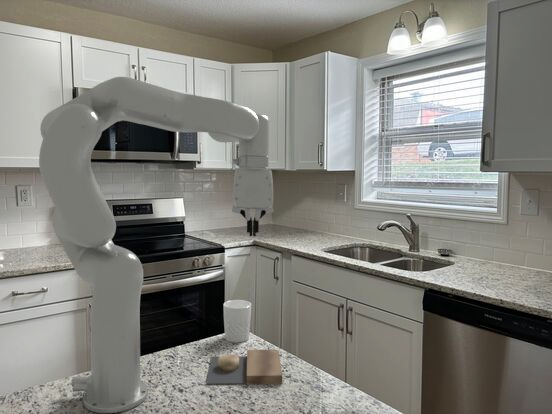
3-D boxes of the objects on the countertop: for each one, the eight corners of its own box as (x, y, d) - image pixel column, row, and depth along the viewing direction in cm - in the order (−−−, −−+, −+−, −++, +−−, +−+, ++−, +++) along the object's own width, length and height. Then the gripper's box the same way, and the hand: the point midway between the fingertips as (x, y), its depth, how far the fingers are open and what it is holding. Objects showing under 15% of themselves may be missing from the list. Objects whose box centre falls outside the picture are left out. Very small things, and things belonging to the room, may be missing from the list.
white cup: (217, 338, 122) (217, 304, 121) (236, 331, 128) (236, 298, 128) (238, 346, 117) (238, 310, 117) (256, 337, 124) (256, 303, 123)
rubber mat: (206, 384, 96) (206, 383, 96) (211, 357, 110) (211, 356, 110) (246, 384, 96) (246, 383, 96) (247, 357, 110) (247, 356, 110)
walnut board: (246, 384, 96) (246, 375, 96) (247, 357, 110) (247, 349, 110) (282, 383, 97) (282, 375, 96) (278, 357, 111) (278, 349, 110)
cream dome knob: (215, 370, 102) (215, 362, 102) (221, 361, 107) (221, 353, 107) (236, 372, 101) (236, 364, 101) (240, 363, 106) (240, 355, 106)
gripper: (223, 163, 105) (222, 237, 106) (284, 164, 106) (282, 238, 107) (224, 163, 113) (224, 233, 114) (281, 164, 113) (280, 233, 115)
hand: (252, 235), depth 111 cm, fingers closed
